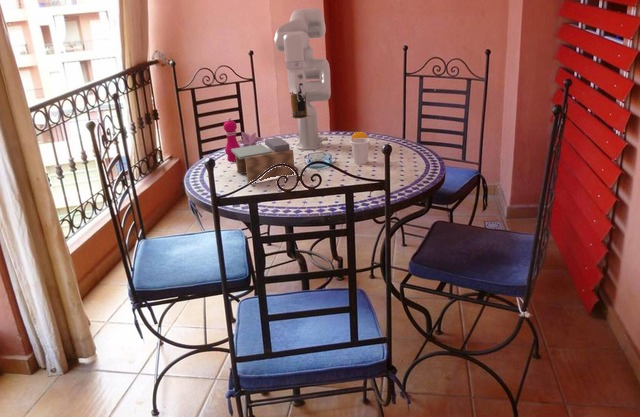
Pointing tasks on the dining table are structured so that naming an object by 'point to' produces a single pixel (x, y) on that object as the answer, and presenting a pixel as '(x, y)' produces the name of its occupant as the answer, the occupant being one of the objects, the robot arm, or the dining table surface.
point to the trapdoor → (262, 148)
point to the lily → (249, 139)
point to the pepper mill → (230, 139)
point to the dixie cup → (360, 150)
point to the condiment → (295, 111)
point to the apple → (359, 135)
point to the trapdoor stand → (266, 165)
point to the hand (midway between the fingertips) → (298, 109)
